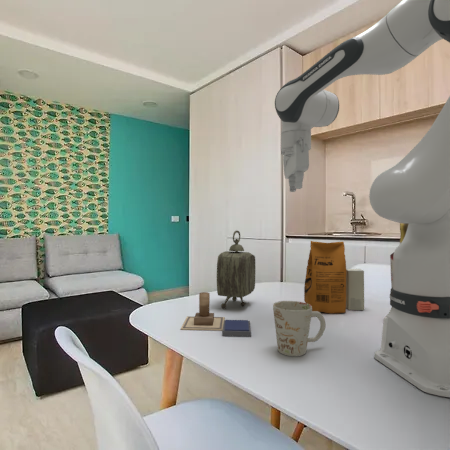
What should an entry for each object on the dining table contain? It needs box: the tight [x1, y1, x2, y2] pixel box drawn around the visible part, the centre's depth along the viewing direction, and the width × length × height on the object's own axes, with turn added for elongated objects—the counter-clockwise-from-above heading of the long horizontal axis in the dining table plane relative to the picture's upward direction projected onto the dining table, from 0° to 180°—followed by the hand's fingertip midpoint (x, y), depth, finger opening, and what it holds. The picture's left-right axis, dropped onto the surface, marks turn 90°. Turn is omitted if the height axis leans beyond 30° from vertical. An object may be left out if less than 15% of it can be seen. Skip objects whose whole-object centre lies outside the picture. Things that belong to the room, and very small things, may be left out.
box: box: [346, 268, 365, 311], centre depth 109 cm, size 5×4×13 cm
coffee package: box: [303, 240, 347, 315], centre depth 107 cm, size 10×12×22 cm
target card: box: [180, 315, 226, 331], centre depth 91 cm, size 11×11×1 cm
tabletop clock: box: [216, 230, 256, 309], centre depth 111 cm, size 14×9×25 cm, turn 160°
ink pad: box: [221, 319, 252, 338], centre depth 86 cm, size 9×7×2 cm
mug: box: [272, 300, 326, 357], centre depth 74 cm, size 8×13×10 cm, turn 111°
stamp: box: [194, 291, 215, 326], centre depth 91 cm, size 5×5×8 cm
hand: (295, 190), depth 100 cm, fingers open, 8 cm apart
